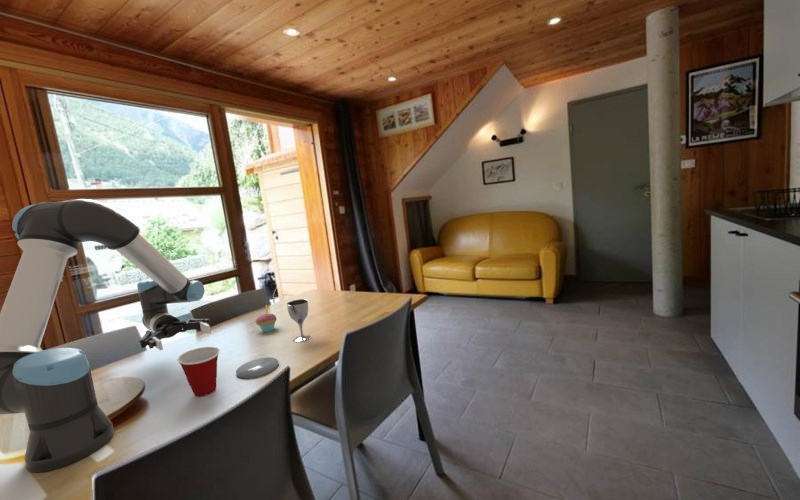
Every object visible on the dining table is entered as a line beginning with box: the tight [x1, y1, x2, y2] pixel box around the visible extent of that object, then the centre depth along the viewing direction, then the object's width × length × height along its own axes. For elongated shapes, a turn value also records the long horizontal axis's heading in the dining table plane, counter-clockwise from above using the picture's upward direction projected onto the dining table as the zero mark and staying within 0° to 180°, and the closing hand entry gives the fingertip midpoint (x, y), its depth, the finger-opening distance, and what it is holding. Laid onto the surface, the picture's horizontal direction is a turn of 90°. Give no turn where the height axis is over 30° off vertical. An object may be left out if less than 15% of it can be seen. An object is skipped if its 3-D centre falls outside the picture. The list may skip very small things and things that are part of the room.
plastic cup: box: [176, 346, 221, 398], centre depth 102 cm, size 11×11×12 cm
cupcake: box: [255, 303, 277, 333], centre depth 151 cm, size 9×8×12 cm
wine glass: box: [286, 298, 312, 343], centre depth 136 cm, size 8×8×15 cm
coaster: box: [235, 357, 279, 380], centre depth 114 cm, size 13×13×1 cm
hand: (186, 337), depth 108 cm, fingers open, 13 cm apart
